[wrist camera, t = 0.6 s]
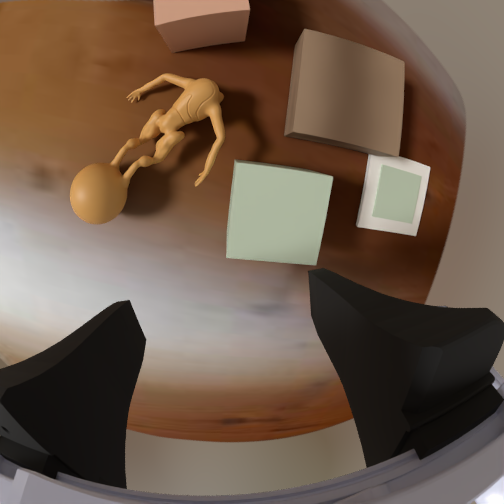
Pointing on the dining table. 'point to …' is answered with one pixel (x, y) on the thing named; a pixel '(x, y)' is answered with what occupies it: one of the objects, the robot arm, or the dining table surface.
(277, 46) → the dining table surface
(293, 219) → the sage block
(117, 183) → the figurine
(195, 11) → the terracotta block
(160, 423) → the dining table surface
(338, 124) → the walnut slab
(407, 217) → the swatch
